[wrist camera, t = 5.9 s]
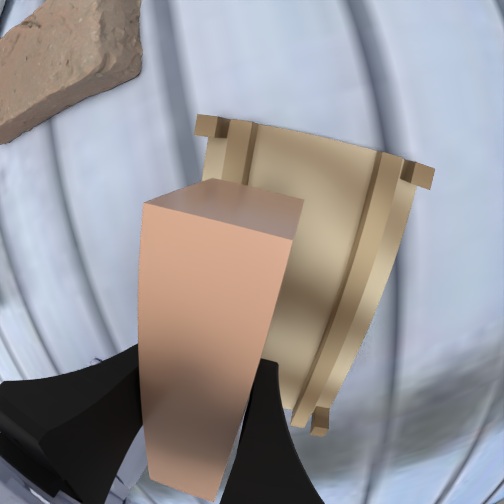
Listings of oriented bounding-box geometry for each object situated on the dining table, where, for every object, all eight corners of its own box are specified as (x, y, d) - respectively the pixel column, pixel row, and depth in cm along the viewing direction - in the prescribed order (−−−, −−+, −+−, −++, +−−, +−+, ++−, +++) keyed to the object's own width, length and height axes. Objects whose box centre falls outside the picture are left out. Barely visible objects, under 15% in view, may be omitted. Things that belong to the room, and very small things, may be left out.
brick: (141, -21, 13) (102, -46, 9) (148, 78, 16) (100, 66, 12) (4, 67, 18) (-33, 67, 13) (7, 146, 20) (-33, 154, 16)
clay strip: (237, 436, 15) (213, 502, 11) (182, 418, 15) (149, 478, 11) (304, 199, 10) (292, 240, 6) (212, 177, 10) (143, 202, 6)
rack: (325, 407, 21) (323, 436, 18) (187, 370, 22) (172, 396, 20) (416, 164, 14) (435, 168, 12) (217, 118, 16) (197, 114, 13)
